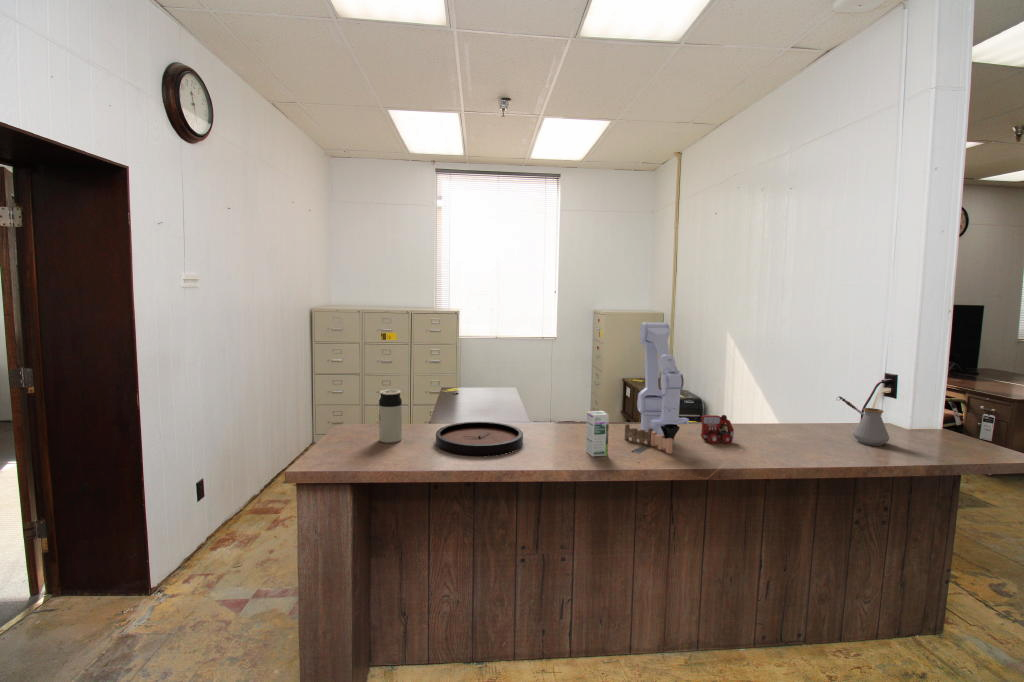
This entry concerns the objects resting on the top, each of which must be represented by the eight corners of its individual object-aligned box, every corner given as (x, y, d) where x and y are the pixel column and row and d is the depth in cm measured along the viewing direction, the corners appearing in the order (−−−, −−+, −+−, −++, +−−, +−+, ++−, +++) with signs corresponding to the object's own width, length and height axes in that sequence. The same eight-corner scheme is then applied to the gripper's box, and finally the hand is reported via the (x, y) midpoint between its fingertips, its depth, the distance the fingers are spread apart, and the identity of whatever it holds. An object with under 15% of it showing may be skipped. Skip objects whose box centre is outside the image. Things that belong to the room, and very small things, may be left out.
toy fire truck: (737, 445, 188) (739, 417, 187) (704, 445, 188) (706, 417, 186) (728, 439, 195) (729, 413, 194) (696, 439, 194) (698, 412, 193)
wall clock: (462, 451, 163) (421, 428, 188) (462, 463, 163) (421, 439, 189) (540, 437, 180) (493, 417, 206) (540, 448, 181) (493, 427, 206)
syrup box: (592, 457, 171) (593, 414, 170) (585, 451, 177) (586, 410, 175) (607, 456, 172) (609, 413, 171) (600, 450, 178) (601, 409, 177)
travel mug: (404, 437, 189) (404, 389, 187) (397, 443, 181) (397, 394, 179) (383, 436, 190) (383, 388, 188) (375, 442, 182) (375, 393, 180)
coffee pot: (896, 446, 191) (900, 407, 189) (872, 448, 188) (875, 408, 186) (846, 430, 211) (849, 395, 210) (823, 432, 208) (826, 396, 207)
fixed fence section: (625, 439, 191) (626, 423, 191) (652, 444, 185) (653, 428, 184) (623, 440, 190) (624, 424, 190) (650, 445, 184) (651, 429, 183)
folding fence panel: (650, 445, 183) (651, 431, 183) (653, 444, 184) (654, 431, 183) (668, 453, 174) (669, 439, 173) (672, 453, 174) (673, 439, 174)
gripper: (660, 411, 170) (658, 450, 172) (695, 408, 175) (693, 446, 177) (647, 406, 177) (645, 444, 178) (682, 404, 182) (680, 441, 183)
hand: (668, 445), depth 178 cm, fingers closed
